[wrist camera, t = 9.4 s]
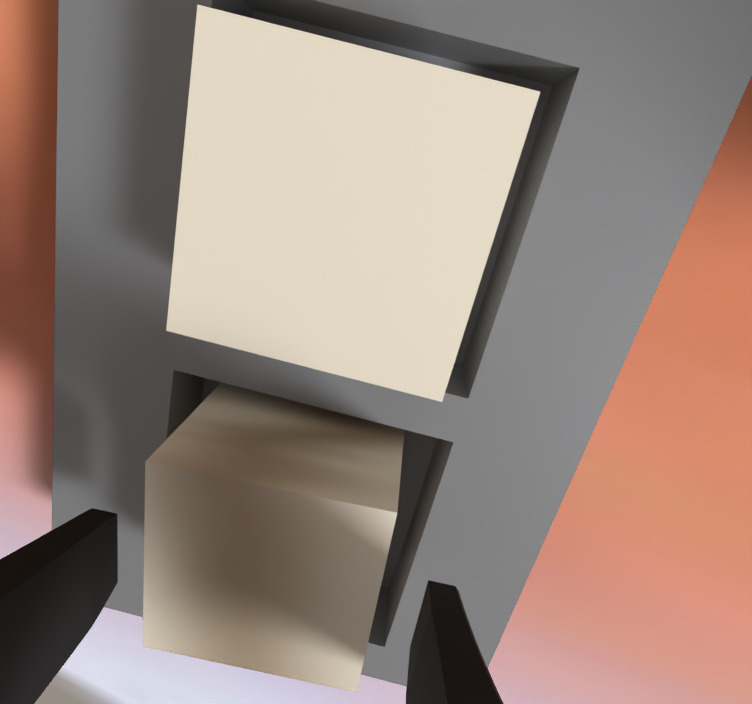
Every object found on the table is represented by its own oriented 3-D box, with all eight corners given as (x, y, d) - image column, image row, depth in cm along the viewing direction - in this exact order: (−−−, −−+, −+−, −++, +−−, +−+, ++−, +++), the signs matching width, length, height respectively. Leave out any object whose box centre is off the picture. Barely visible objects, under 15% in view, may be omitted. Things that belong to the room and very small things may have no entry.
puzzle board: (900, -457, 9) (1636, -1431, 3) (464, 619, 18) (481, 815, 13) (182, -634, 9) (-190, -1855, 4) (109, 526, 18) (-28, 681, 13)
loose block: (406, 401, 14) (397, 512, 10) (376, 541, 16) (356, 692, 12) (235, 367, 15) (145, 461, 10) (224, 509, 16) (142, 646, 12)
